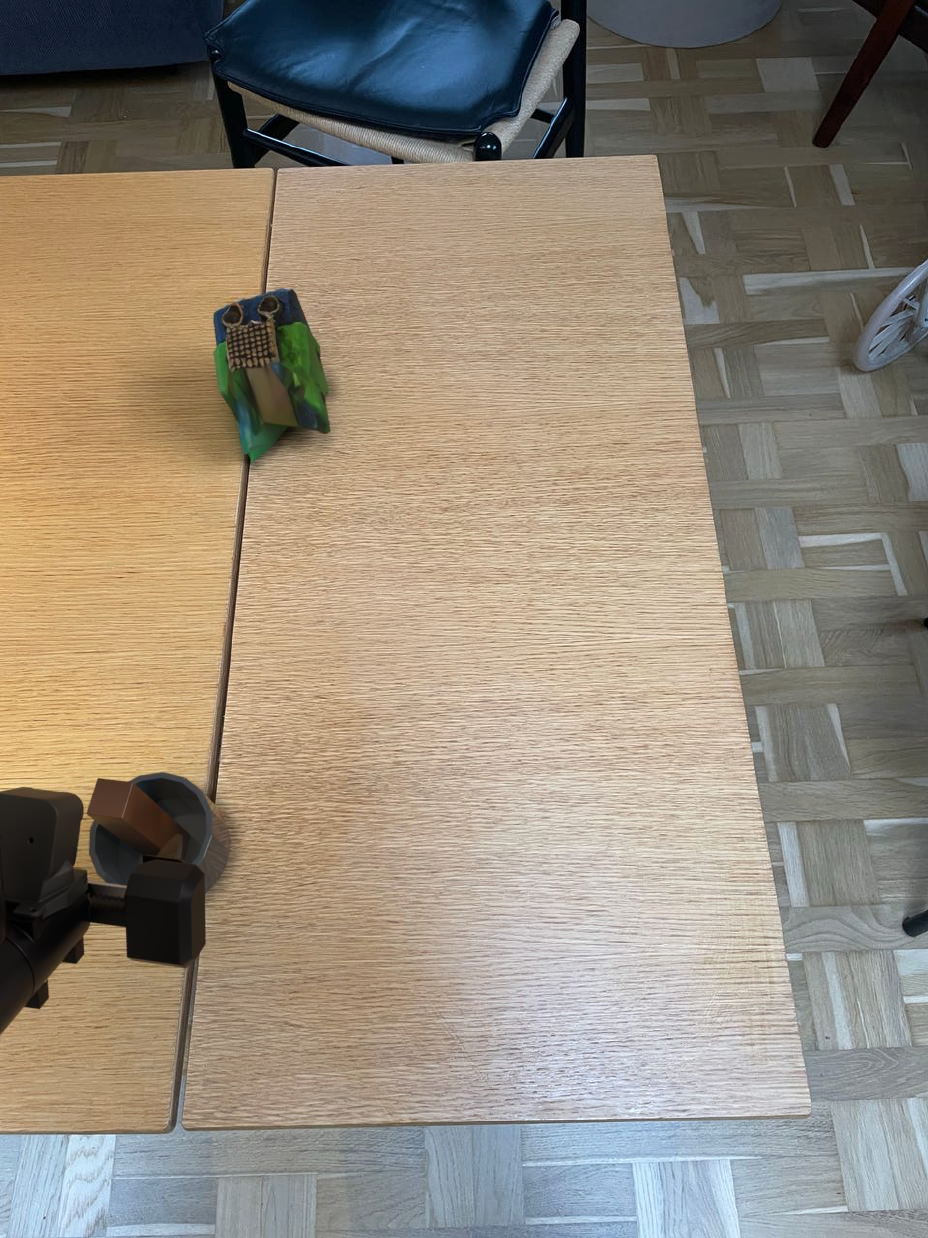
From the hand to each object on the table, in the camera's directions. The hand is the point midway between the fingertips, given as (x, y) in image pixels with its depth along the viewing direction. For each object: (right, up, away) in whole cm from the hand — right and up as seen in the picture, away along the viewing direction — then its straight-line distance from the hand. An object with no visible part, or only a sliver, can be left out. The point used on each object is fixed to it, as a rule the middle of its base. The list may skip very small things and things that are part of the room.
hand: (117, 831), depth 69 cm
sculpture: (+6, +36, +32) cm, 48 cm away
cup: (+1, -4, +11) cm, 11 cm away
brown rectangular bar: (+1, -4, +10) cm, 11 cm away
